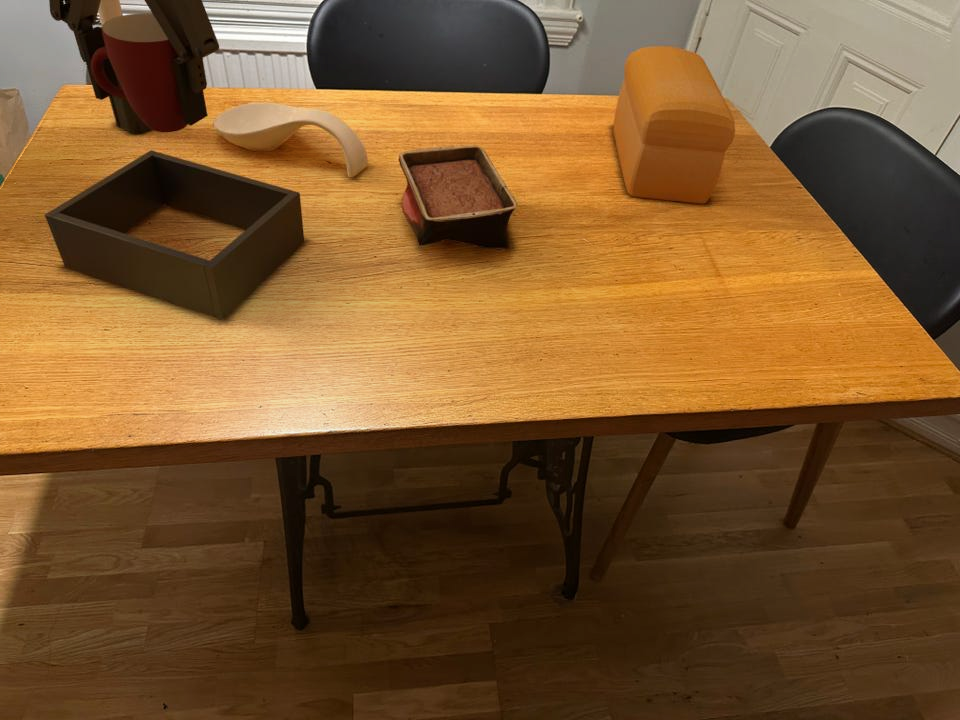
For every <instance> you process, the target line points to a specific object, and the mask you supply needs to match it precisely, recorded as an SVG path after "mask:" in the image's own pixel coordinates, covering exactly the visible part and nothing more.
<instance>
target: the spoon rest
mask: <svg viewBox="0 0 960 720" xmlns="http://www.w3.org/2000/svg"><path fill="white" fill-rule="evenodd" d="M305 126H315V127H318V128H320V129H322V130H324V131H325V132H327V133H328V134H330V135H331V136H332V137H334V138H335V140H336V141H337V143H338V144H339V145H340V147H341V149H342V151H343V155H344V159H345V164H346V174H347V176H348V177H349V178H354V177H355V176H357V175H358V174H359V173H360V172H362V171H363V170H364V169H365V168H367V167H368V165H369V160H368V159H369V158H368V153H367V150H366V148H365V146H364V144H363V142H362V140H361V139H360V137H359V136H358V134H357V133H356V132H355V131H354V129H352V128H351V127H350V126H349V125H348V124H347V123H346V122H344V121H343V120H342V119H340V118H339V117H337V116H336V115H335V114H333V113H331V112H328V111H326V110H324V109H318V108H309V107H307V108H306V107H298V106H292V105H288V104H284V103H278V102H265V101H264V102H263V101H262V102H260V101H259V102H249V103H244V104H239V105H235V106H233V107H231V108H228V109H226V110H224V111H222V112H221V113H219V114H217V116H216V117H215V119H214V120H213V127H214V128H215V130H216V131H217V132H218V134H219V135H220V136H221V137H222V138H223V139H225V140H227V141H228V142H230V143H231V144H233V145H236V146H238V147H241V148H244V149H246V150H249V151H251V152H252V151H253V152H269V151H273V150H275V149H278V148H279V147H281V146H282V145H283V144H284V143H285V142H287V141H288V140H289V139H290V138H291V137H292V136H293V135H294V134H296V132H297V131H299V130H300V129H302V128H303V127H305Z"/></svg>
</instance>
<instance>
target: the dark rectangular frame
mask: <svg viewBox="0 0 960 720" xmlns="http://www.w3.org/2000/svg"><path fill="white" fill-rule="evenodd" d="M163 206H168V207H171V208H175V209H178V210H182V211H185V212H188V213H191V214H195V215H198V216H201V217H205V218H209V219H211V220H214V221H218V222H222V223H225V224H228V225H230V226H231V225H232V226H234V227H237V228H241V229H245V230H244V231H243V232H242V233H240V234H239V235H238V236H237V237H235V239H234V240H232V241H231V242H230V243H229V244H228V245H227V246H225V247H224V248H222V249H221V250H220V251H219V252H218V253H217V254H215V255H214V256H213V257H212V258H211V259H210V260H209V259H207V258H203V257H200V256H197V255H194V254H191V253H187V252H185V251H181V250H179V249H175V248H172V247H168V246H165V245H162V244H160V243H156V242H153V241H150V240H146V239H143V238H141V237H137V236H134V235H130V234H127V231H129V230H131V229H132V228H133V227H135V226H137V225H138V224H139V223H141V222H142V221H143V220H145V219H146V218H148V217H149V216H150V215H152V214H153V213H155V212H156V211H158V210H159V209H161V208H162V207H163ZM44 217H45V220H46V223H47V225H48V228H49V231H50V233H51V235H52V236H51V237H52V238H53V241H54V243H55V246H56V248H57V251H58V254H59V256H60V259H61V261H62V263H63V264H62V265H63V266H64V268H65V269H69V270H72V271H75V272H77V273H81V274H84V275H85V276H86V275H87V276H90V277H92V278H96V279H99V280H101V281H105V282H107V283H111V284H114V285H116V286H120V287H122V288H126V289H128V290H132V291H134V292H138V293H141V294H143V295H147V296H149V297H151V298H152V297H153V298H156V299H159V300H162V301H165V302H167V303H170V304H174V305H176V306H179V307H183V308H185V309H189V310H192V311H195V312H197V313H200V314H204V315H207V316H209V317H212V318H216V319H219V320H222V321H224V320H225V319H226V318H227V317H228V316H229V315H230V314H231V313H233V311H235V309H237V307H239V305H241V304H242V303H243V302H244V301H245V300H246V299H247V298H248V297H249V296H251V294H252V293H253V292H254V291H255V290H256V289H257V288H259V286H260V285H261V284H262V283H263V282H265V281H266V280H267V279H268V278H269V277H270V276H271V275H272V274H273V273H274V272H275V271H276V270H277V269H278V268H279V267H280V266H281V265H282V264H283V263H284V262H285V261H287V259H289V257H290V256H292V255H293V254H294V253H295V252H296V251H297V250H298V249H299V248H300V247H301V246H302V245H303V244H304V243H305V234H304V223H303V212H302V201H301V193H300V192H299V191H297V190H292V189H288V188H286V187H281V186H278V185H275V184H271V183H267V182H265V181H260V180H256V179H254V178H251V177H246V176H243V175H239V174H236V173H232V172H228V171H226V170H222V169H219V168H215V167H213V166H207V165H204V164H200V163H197V162H194V161H191V160H187V159H184V158H180V157H177V156H173V155H170V154H166V153H162V152H159V151H156V150H151V149H150V150H149V151H147V152H146V153H144V154H142V155H141V156H139V157H137V158H136V159H134V160H133V161H130V162H129V163H127V164H126V165H124V166H122V167H121V168H119V169H117V170H115V171H114V172H113V173H111V174H109V175H107V176H105V177H104V178H103V179H101V180H99V181H98V182H96V183H94V184H92V185H90V186H89V187H88V188H86V189H84V190H82V191H81V192H79V193H77V194H76V195H74V196H73V197H71V198H70V199H68V200H66V201H65V202H63V203H61V204H60V205H58V206H56V207H54V208H53V209H51V210H49V211H48V212H46V213H44Z"/></svg>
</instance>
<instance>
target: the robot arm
mask: <svg viewBox="0 0 960 720" xmlns="http://www.w3.org/2000/svg"><path fill="white" fill-rule="evenodd" d="M48 2H49V3H48V5H49V12H50V16H51V17H52V19H53V20H54V21H57V22H61V21H62V22H64V23H65V24H67V27H68V28H69V30H70V31H72V32H73V36H74V38H75V41H76V45H77V49H78V53H79V56H80V58H81V60H82V61H83V63H85V65H86V68H87V72H88V75H89V78H90V82H91V85H92V89H93V93H94V97H95V99H98V100H105V99H106V98H109V96H111V94H109V93H107V92H106V91H105V90H103V89H102V88H101V87H100V86H99V84H98V83H97V82H96V80H95V78H94V76H93V73H92V70H91V60H92V56H93V54H94V53H95V52H96V51H97V50H98V49H99V48H101V47H105V43H104V38H103V34H102V26H95V27H94V25H97V24H101V20H100V19H99V18H98V15H99V13H98V10H99V6H100V2H101V0H48ZM144 2H145V4H146V5H147V7H148V9H149V10H150V12H151V13H153V15H154V17H155V18H156V20H157V22H158V23H159V25H160V26H161V28H162V30H163V31H164V33H165V35H166V36H167V38H168V40H169V41H170V43H171V44H172V46H173V48H174V49H175V51H176V53H177V54H178V57H176V58H174V59H172V62H173V67H174V72H175V77H176V82H177V87H178V92H179V97H180V102H181V107H182V112H183V117H184V122H185V124H187V126H189V127H191V126H193V125H195V124H196V123H199V122H200V121H201V120H203V119H205V118H206V117H208V111H207V104H206V99H205V94H204V90H206V89H207V86H208V81H207V76H206V70H205V65H204V58H206V57H208V56H210V55H212V54H214V53H216V52H218V51H219V49H220V44H219V41H218V39H217V36H216V33H215V31H214V28H213V26H212V23H211V21H210V17H209V15H208V13H207V10H206V8H205V5H204V2H203V0H144ZM186 41H187V43H188V45H186ZM103 68H104V72H105V74H106V76H107V78H108V79H109V80H110V82H111V83H112V84H114V85H115V86H116V87H118V88H119V85H118V81H117V77H116V74H115V71H114V69H113V67H112V65H111V62H110V60H109V58H106V59H105V60H104V62H103Z"/></svg>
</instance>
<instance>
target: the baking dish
mask: <svg viewBox="0 0 960 720" xmlns="http://www.w3.org/2000/svg"><path fill="white" fill-rule="evenodd" d="M398 162H399V166H400V168H401V170H402V172H403V175H404V177H405V180H406V187H405V190H404V191H403V194H402V196H401V210H402V213H403V215H404V216H405V218H406V220H407V222H408V224H409V225H410V228H411V230H412V232H413V234H414V236H415V239H416V241H417V244H418V246H419V247H423V246H427V245H431V244H436V243H439V242H443V241H452V242H455V243H461V244H466V245H471V246H476V247H478V248H479V247H480V248H483V249H484V248H485V249H509V248H510V242H509V235H508V229H509V225H510V224H509V223H510V219H511V216H512V214H513V213H514V211H515V209H516V208H517V207H518V206H519V203H518V202H517V200H516V197H515V196H514V195H513V193H511V191H510V189H509V188H508V187H507V185H506V183H505V181H504V180H503V179H502V177H501V175H500V173H499V172H498V170H497V168H496V167H495V165H494V164H493V162H492V160H491V159H490V156H489V155H488V154H487V151H486V150H485V149H484V148H483V147H482V146H480V145H475V144H474V145H450V146H438V147H437V146H436V147H427V148H419V149H413V150H412V149H411V150H406V151H403V152H401V153H399V155H398Z"/></svg>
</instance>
